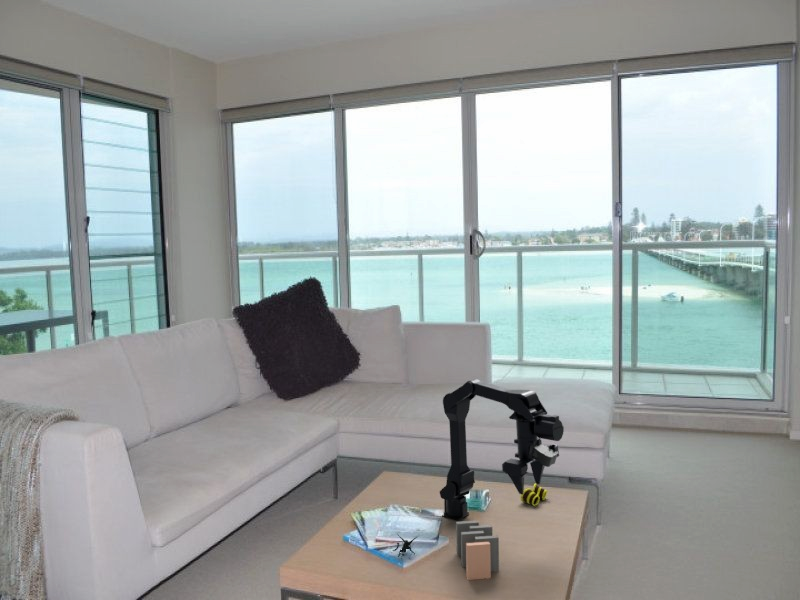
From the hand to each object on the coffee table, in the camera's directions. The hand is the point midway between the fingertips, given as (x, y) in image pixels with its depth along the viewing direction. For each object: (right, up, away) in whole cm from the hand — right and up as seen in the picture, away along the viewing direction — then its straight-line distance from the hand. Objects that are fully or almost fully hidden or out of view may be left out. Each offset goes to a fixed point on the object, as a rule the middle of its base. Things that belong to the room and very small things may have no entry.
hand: (529, 488), depth 187 cm
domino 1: (-15, -16, -9) cm, 24 cm away
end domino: (-17, -17, -20) cm, 31 cm away
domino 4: (-14, -17, -16) cm, 27 cm away
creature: (-36, -17, -7) cm, 40 cm away
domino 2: (-18, -16, -6) cm, 25 cm away
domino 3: (-18, -17, -13) cm, 27 cm away
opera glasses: (+7, -13, +30) cm, 33 cm away
